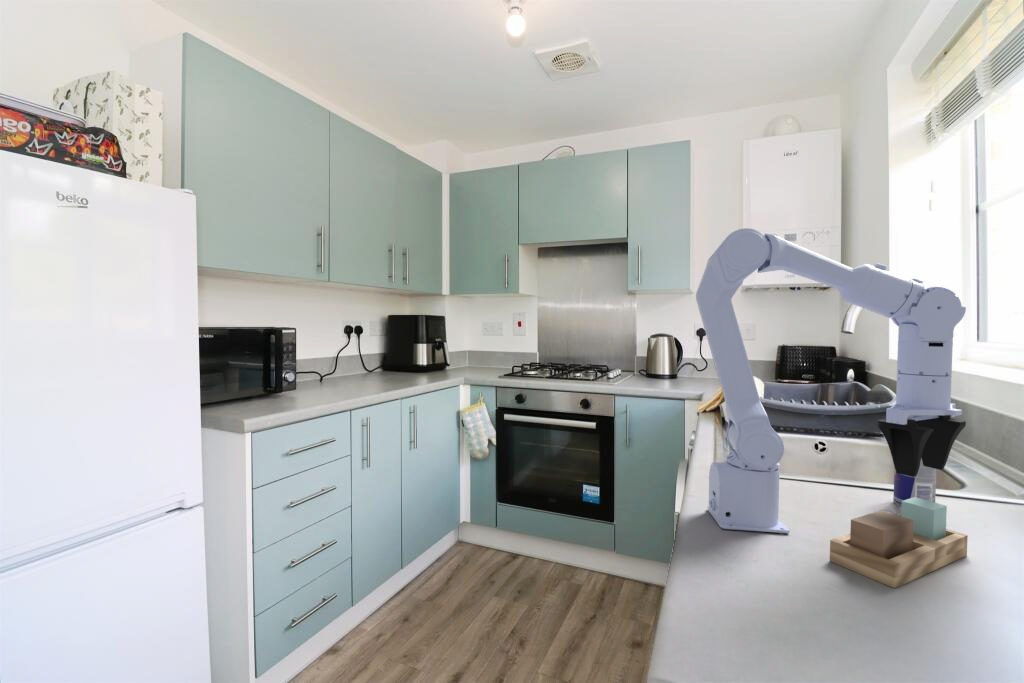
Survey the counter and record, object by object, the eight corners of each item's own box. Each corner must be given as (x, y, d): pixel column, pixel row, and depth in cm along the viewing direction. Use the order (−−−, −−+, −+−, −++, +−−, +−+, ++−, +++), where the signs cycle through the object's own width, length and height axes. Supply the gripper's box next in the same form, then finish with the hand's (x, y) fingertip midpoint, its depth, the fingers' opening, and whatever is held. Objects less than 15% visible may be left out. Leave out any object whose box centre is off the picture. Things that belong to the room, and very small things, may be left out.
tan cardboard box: (882, 567, 55) (883, 530, 55) (849, 555, 58) (850, 519, 58) (912, 555, 58) (913, 520, 58) (880, 544, 61) (881, 510, 61)
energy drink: (893, 497, 83) (895, 430, 82) (933, 505, 79) (936, 435, 79) (893, 506, 78) (895, 435, 78) (936, 514, 75) (938, 440, 75)
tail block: (932, 548, 60) (934, 510, 60) (900, 537, 64) (901, 501, 63) (945, 542, 62) (946, 505, 62) (913, 532, 65) (914, 497, 65)
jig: (894, 588, 53) (895, 565, 53) (829, 560, 59) (830, 539, 59) (966, 555, 61) (967, 535, 61) (903, 534, 67) (903, 515, 67)
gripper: (934, 379, 58) (930, 487, 58) (985, 375, 64) (981, 472, 65) (869, 374, 64) (866, 471, 65) (922, 370, 71) (919, 459, 71)
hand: (920, 471), depth 65 cm, fingers open, 7 cm apart
